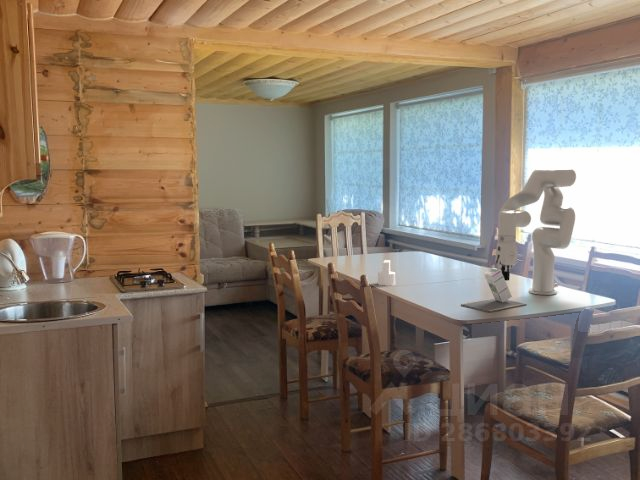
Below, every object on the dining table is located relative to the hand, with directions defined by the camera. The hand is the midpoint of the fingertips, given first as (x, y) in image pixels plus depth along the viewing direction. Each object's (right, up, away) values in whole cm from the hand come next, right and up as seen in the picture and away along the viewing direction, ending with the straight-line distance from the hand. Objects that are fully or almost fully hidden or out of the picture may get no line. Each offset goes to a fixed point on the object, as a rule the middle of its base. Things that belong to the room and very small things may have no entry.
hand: (505, 280), depth 285 cm
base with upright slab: (-48, -5, +45) cm, 66 cm away
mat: (-6, -11, -4) cm, 13 cm away
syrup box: (0, -9, +1) cm, 9 cm away
